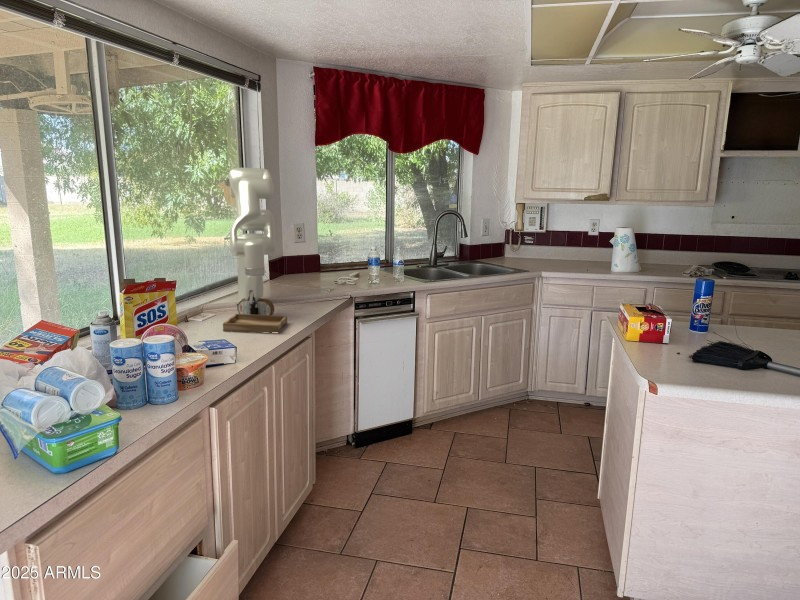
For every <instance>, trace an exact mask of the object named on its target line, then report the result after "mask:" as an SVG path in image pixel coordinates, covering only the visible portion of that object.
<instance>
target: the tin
mask: <svg viewBox="0 0 800 600" xmlns="http://www.w3.org/2000/svg"><path fill="white" fill-rule="evenodd" d="M249 299H250V298H249ZM253 300H255V299H253ZM236 307H237V308H236V309H237V312H238V313H237V314H250V304H249V300H246V299H245V298H243V299H242V300H241V301H240V302H239V303H238V305H237V304H236ZM257 308H258V315H273V316H274V313H275V305H274V303H273V302H272V301H271V300H269V299H268V298H263V297H261V298H260V299H259V300H257Z"/></svg>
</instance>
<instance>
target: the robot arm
mask: <svg viewBox="0 0 800 600" xmlns="http://www.w3.org/2000/svg"><path fill="white" fill-rule="evenodd" d="M228 180H229V185H230V188H231V190H232V193H233V195H234V198H235V206H236V209H235V210H236V219H235V220H234V221H233V222H232V224H231V227H230V230H229V245H230V251H231V254H232V255H233V256H234V257H236V258H237V259H236V261H237V262H236V263H237V288H238V289H237V291H238V292H237V293H238V295H237V296H238V298H237V299H239V300H242V299H243V298H245V299H246V300H249V304H250V314H252V315H258V308H257V300H259V299H260V298H263V296H264V276H265V256H269V255H273V254H274V253H275V252H276V246H277V245H276V231H275V230H276V229H275V217H274V214H273V212H272V211H271V210H269V209H261V201H260V200H269V199H272V198H273V196H274V193H275V190H274V189H275V187H274V182H273V178H272V175H271V172H270V171H269V169H268V168H267V169H266V168H262V167H261V168H259V167H258V168H257V167H256V168H255V167H234V168H232V169H230V171H229V173H228ZM238 230H240V231H245V232H246V231H248V232H250V233H240V234H238ZM251 231H252V232H260V231H261V232H263V233H251ZM249 298H250V299H249ZM253 299H255V300H253Z"/></svg>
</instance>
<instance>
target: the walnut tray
mask: <svg viewBox="0 0 800 600" xmlns="http://www.w3.org/2000/svg"><path fill="white" fill-rule="evenodd" d="M287 324H288V316H287V315H274V314H273V315H252V314H239V313H235V314H233V315H232V316H231V317H229V318H228V319H227V320H226V321H224V322H223V323H222V332H228V333H229V332H231V331H232V332H233V333H249V332H269V333H272V332H279V331H280V330H281V329H282V328H283V329H284V328H285V326H286V325H287ZM283 329H282V330H283ZM282 330H281V331H282ZM281 331H280V332H281ZM232 332H231V333H232ZM280 332H279V333H280ZM269 333H268V334H269Z"/></svg>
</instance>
